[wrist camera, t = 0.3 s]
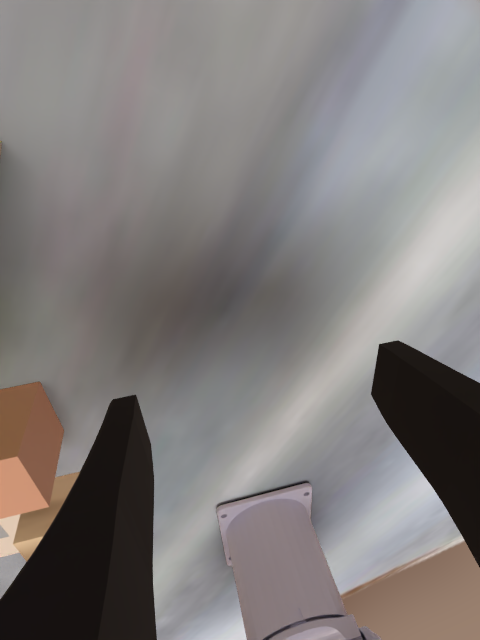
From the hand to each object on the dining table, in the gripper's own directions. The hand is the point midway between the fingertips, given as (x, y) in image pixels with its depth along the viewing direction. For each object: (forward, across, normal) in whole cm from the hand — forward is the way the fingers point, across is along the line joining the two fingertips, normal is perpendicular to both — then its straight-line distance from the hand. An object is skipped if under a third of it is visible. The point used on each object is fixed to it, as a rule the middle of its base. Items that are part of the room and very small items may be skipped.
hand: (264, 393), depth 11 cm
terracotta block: (+10, +12, +8) cm, 17 cm away
